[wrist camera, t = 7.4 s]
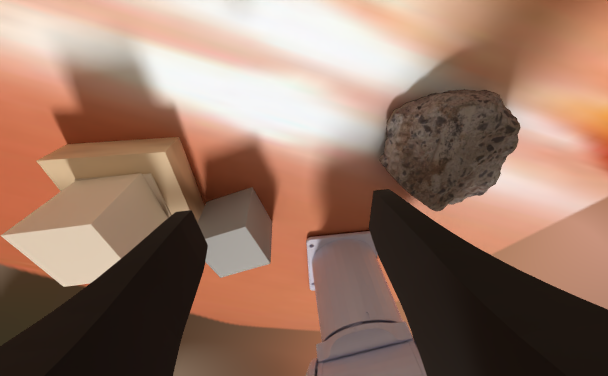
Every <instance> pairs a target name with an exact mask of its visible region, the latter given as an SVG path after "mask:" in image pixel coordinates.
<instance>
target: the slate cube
mask: <svg viewBox="0 0 608 376" xmlns="http://www.w3.org/2000/svg"><path fill="white" fill-rule="evenodd" d="M198 225H199V227H200V229H201V231H202V234H203V236H204V238H205V240H206V242H207V244H208V249H207V255H206V260H205V262H206V263H207V264H208V265H209V266H210V267H211V268H212V269H213V270H214V271H215V272H216V273H217V274H218V276H219V277H220V278H221V277H225V276H228V275H232V274H235V273H239V272H242V271H246V270H249V269H253V268H256V267H260V266H263V265H267V264H270V262H271V238H272V221H271V219H270V217H269V215H268V214H267V212H266V210H265V208H264V206H263V205H262V203H261V201H260V199H259V198H258V196H257V194H256V192H255V191H254V189H253V187H251V188H248V189H245V190H242V191H239V192H236V193H233V194H230V195H227V196H223V197H220V198H217V199H214V200H211V201H208V202H206V205H205V207H204V209H203V212H202V214H201V216H200V219H199V221H198Z"/></svg>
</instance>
